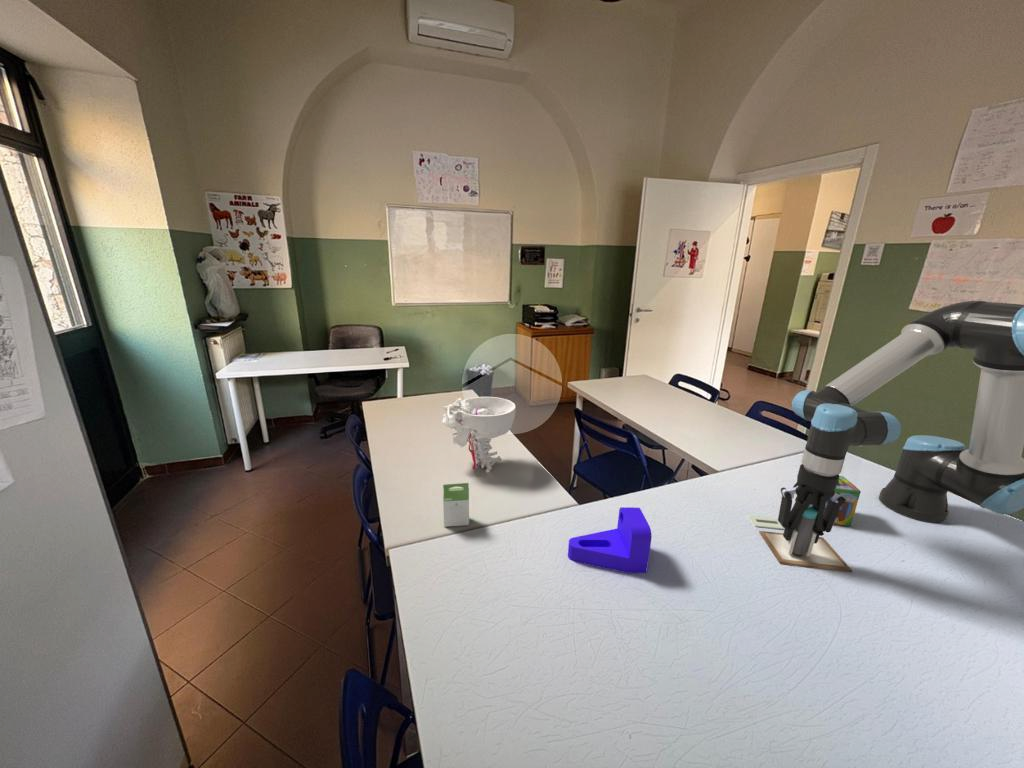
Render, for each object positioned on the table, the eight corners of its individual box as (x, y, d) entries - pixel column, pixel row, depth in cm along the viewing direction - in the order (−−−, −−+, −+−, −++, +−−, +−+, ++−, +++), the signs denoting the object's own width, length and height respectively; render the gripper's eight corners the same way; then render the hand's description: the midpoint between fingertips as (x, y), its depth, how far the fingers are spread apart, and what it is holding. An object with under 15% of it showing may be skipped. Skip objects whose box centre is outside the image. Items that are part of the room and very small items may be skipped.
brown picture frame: (822, 539, 109) (823, 537, 108) (851, 572, 97) (852, 569, 97) (758, 532, 111) (759, 530, 110) (779, 563, 99) (780, 561, 99)
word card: (777, 519, 117) (777, 517, 117) (785, 530, 112) (786, 528, 112) (747, 516, 118) (748, 514, 118) (755, 526, 113) (755, 525, 113)
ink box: (469, 517, 115) (468, 475, 111) (469, 525, 111) (468, 483, 107) (444, 518, 114) (443, 476, 110) (444, 527, 110) (442, 484, 106)
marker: (800, 548, 103) (812, 504, 99) (807, 559, 100) (821, 513, 96) (784, 547, 104) (796, 502, 100) (791, 557, 100) (804, 511, 96)
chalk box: (851, 527, 114) (866, 481, 109) (814, 522, 116) (828, 477, 111) (834, 508, 122) (847, 465, 118) (800, 504, 124) (812, 461, 120)
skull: (510, 452, 153) (511, 395, 147) (517, 477, 136) (519, 414, 129) (444, 455, 150) (442, 397, 143) (442, 482, 132) (440, 417, 125)
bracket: (632, 542, 106) (637, 503, 103) (646, 573, 96) (652, 531, 92) (564, 541, 106) (567, 503, 102) (571, 573, 95) (574, 531, 92)
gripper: (848, 464, 97) (823, 545, 104) (774, 458, 99) (755, 537, 106) (870, 480, 90) (841, 566, 97) (789, 473, 92) (767, 557, 99)
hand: (796, 551), depth 102 cm, fingers closed on marker, 3 cm apart
